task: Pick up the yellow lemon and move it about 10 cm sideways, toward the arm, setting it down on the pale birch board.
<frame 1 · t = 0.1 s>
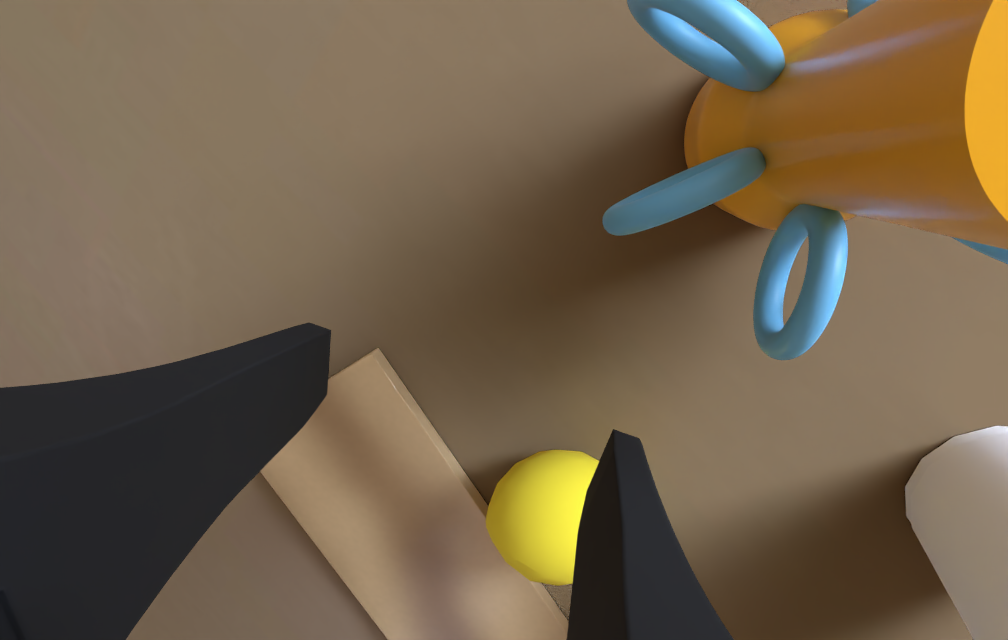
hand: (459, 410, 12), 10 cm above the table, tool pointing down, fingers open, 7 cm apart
foam cup: (992, 494, 20), on the table
birch board: (416, 542, 27), on the table
cylinder: (769, 135, 19), on the table
lemon: (568, 474, 24), on the table
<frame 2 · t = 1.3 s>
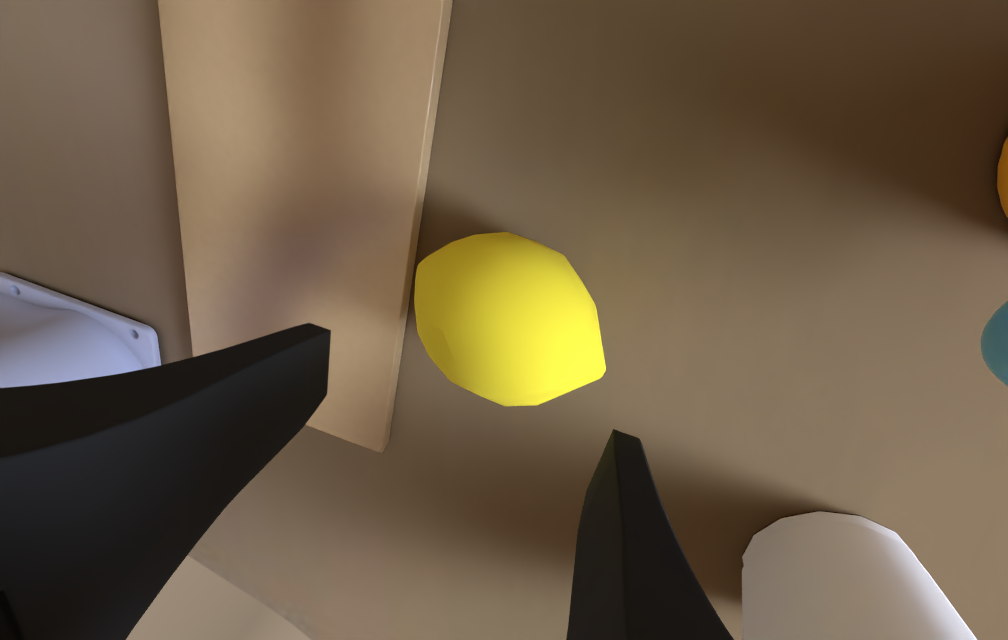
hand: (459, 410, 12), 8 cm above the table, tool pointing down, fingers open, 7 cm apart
foam cup: (824, 565, 21), on the table
birch board: (300, 215, 20), on the table
lemon: (528, 286, 19), on the table
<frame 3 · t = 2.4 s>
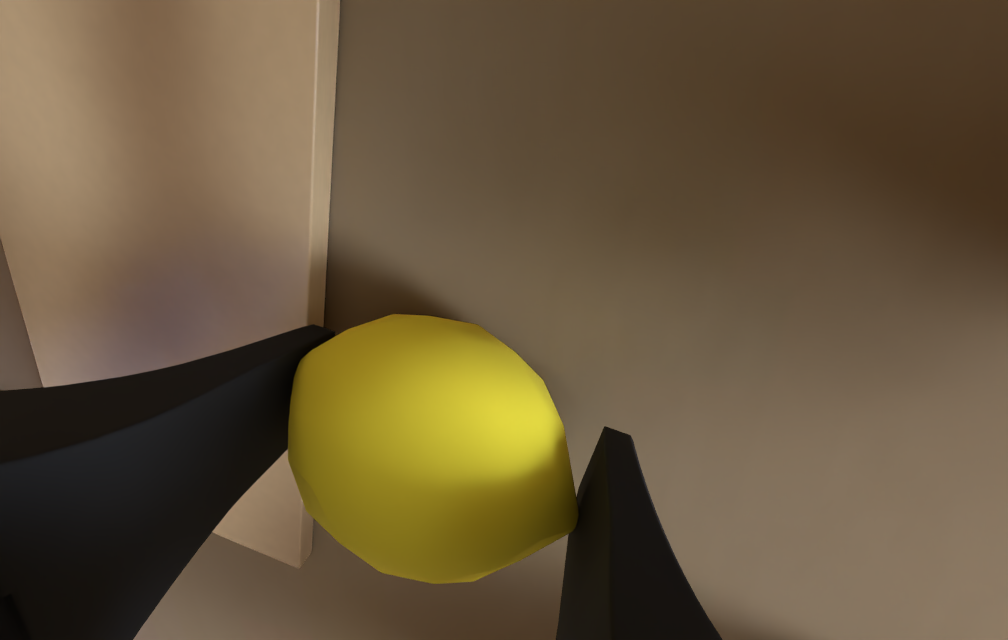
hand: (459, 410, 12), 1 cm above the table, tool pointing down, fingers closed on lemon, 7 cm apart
birch board: (169, 271, 15), on the table
lemon: (476, 374, 14), on the table, touching gripper
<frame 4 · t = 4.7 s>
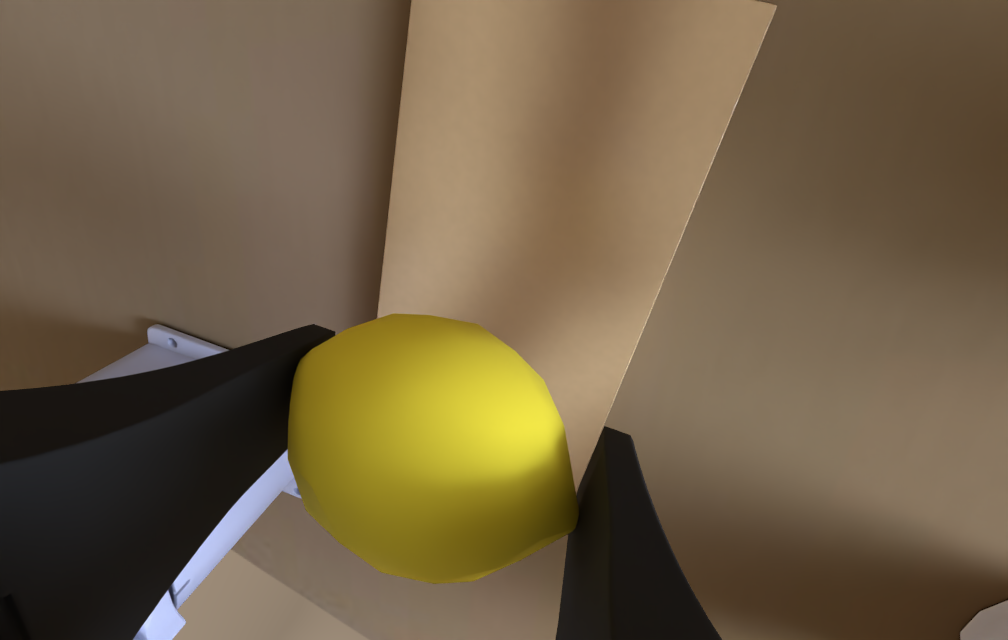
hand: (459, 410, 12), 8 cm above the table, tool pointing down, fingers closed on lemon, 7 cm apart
birch board: (514, 280, 19), on the table
lemon: (477, 373, 14), point 6 cm above the table, touching gripper
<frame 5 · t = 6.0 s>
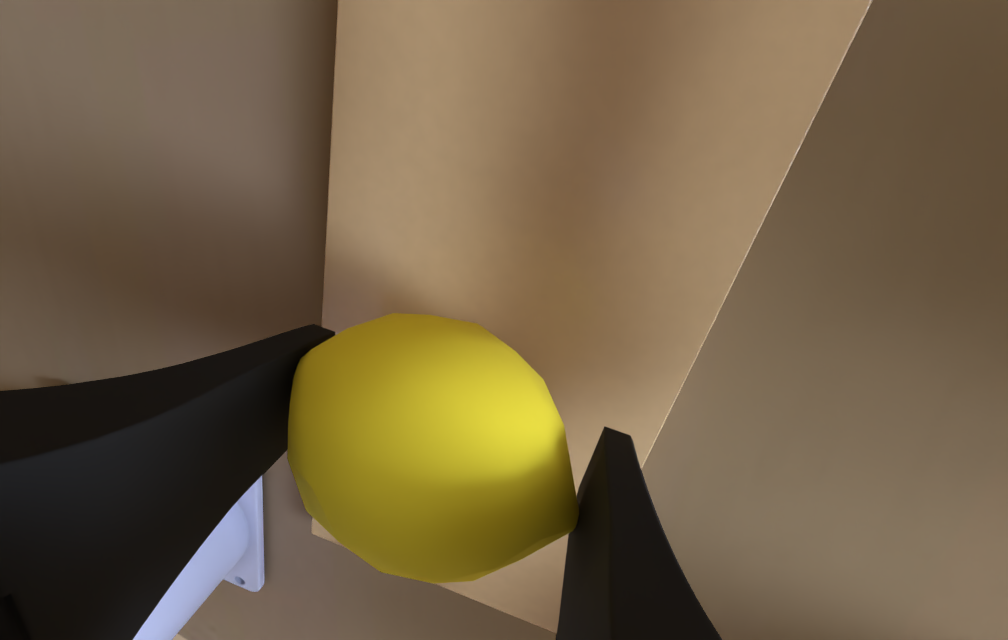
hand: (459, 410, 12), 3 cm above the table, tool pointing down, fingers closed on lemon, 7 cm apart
birch board: (492, 353, 15), on the table
lemon: (477, 373, 14), point 1 cm above the table, touching gripper
when the fingers open (2 cm above the table, at t = 6.8 s): lemon stays where it is, resting on birch board.
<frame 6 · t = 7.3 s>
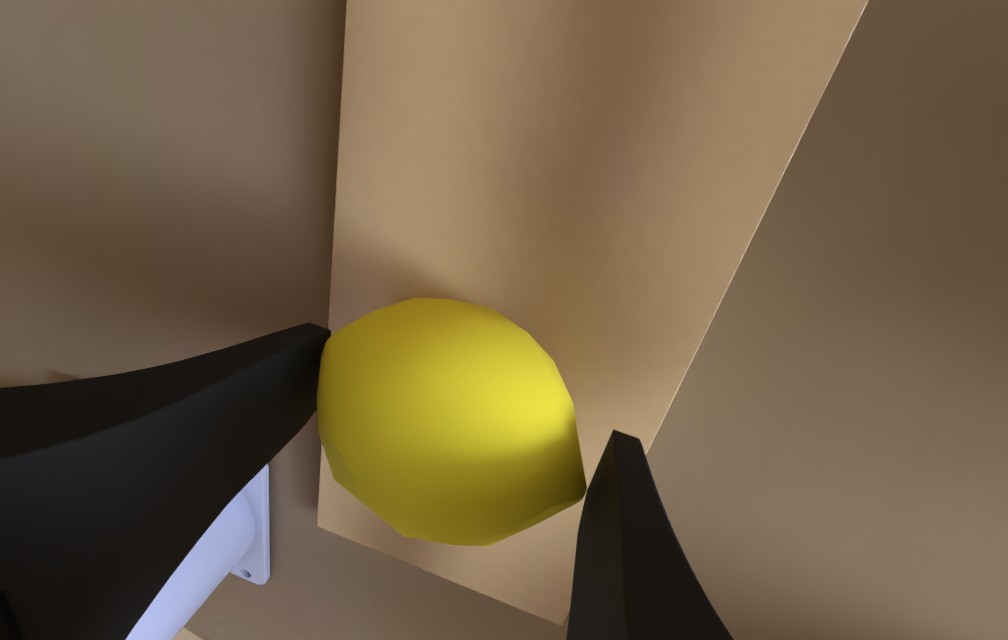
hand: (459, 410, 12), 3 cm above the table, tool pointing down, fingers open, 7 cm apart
birch board: (496, 347, 15), on the table
lemon: (489, 357, 15), point 1 cm above the table, touching birch board
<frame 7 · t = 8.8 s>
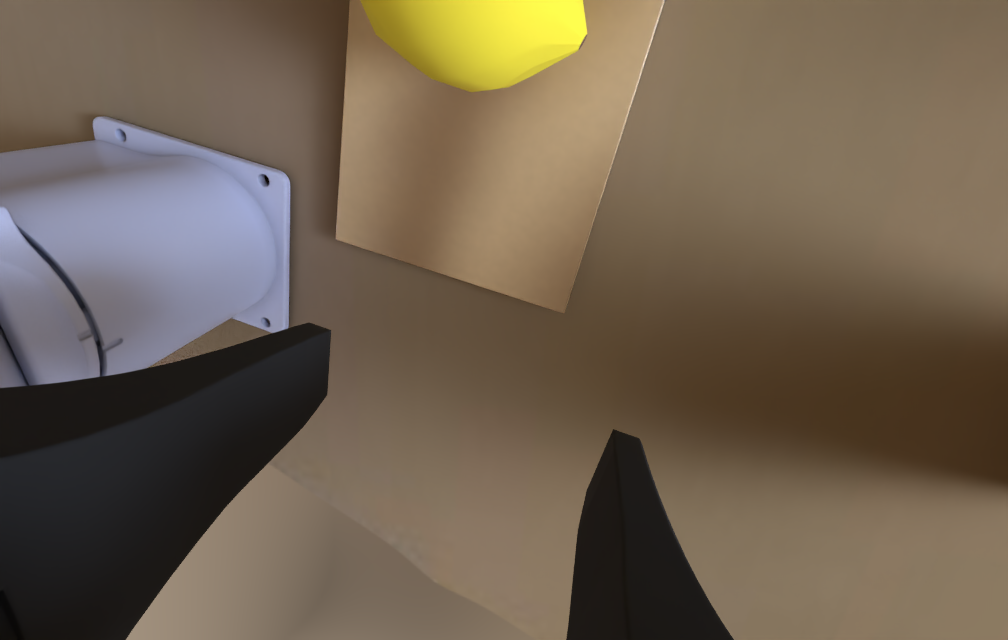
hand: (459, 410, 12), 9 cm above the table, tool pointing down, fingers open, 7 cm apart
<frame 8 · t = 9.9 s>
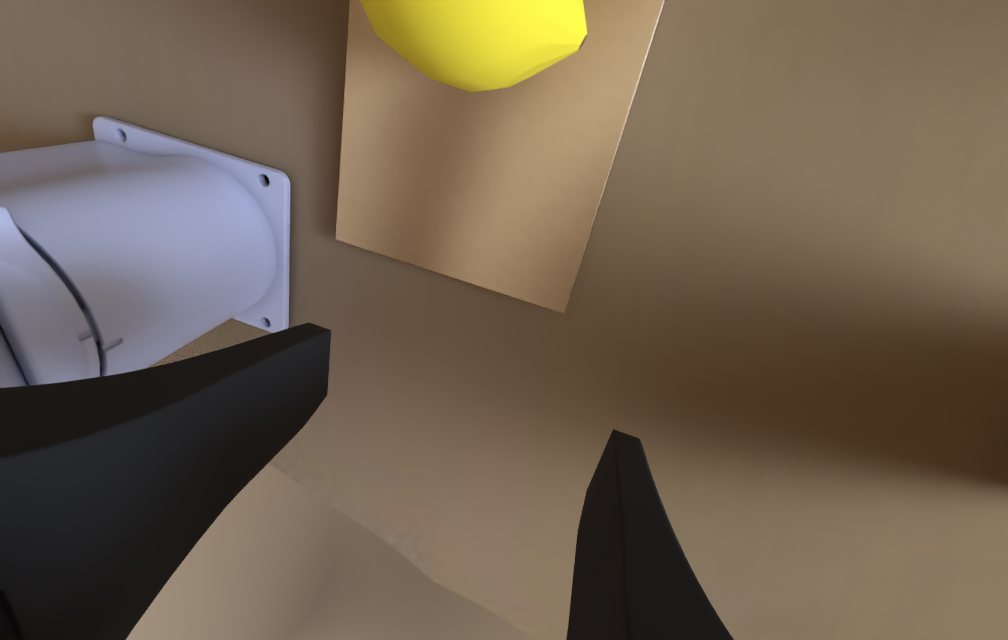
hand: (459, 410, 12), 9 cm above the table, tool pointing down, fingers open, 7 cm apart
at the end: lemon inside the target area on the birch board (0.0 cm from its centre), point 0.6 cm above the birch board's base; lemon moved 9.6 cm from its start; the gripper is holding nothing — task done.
